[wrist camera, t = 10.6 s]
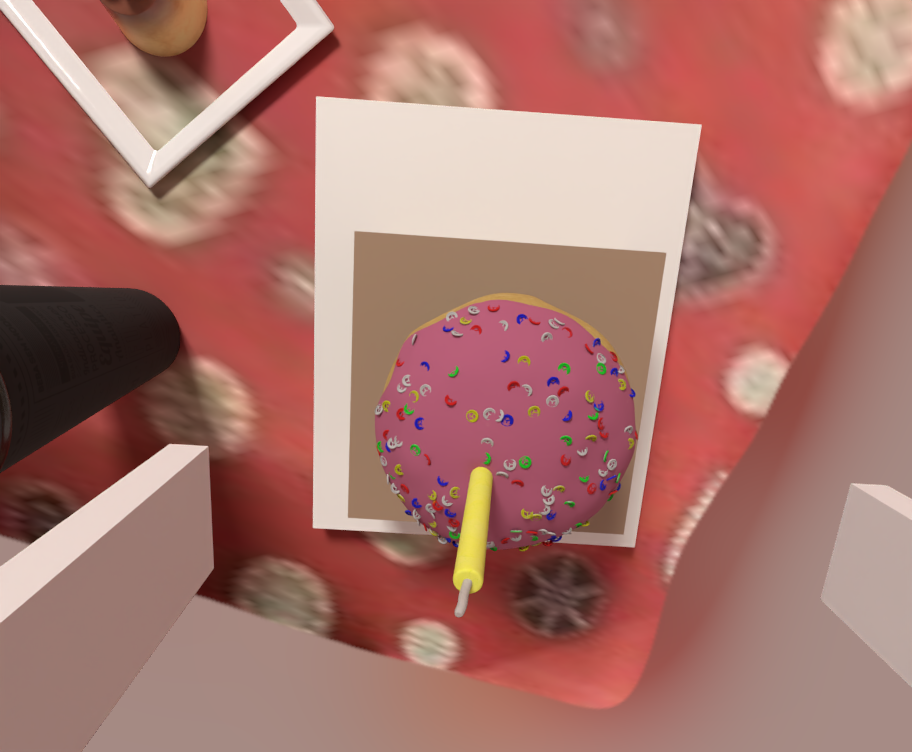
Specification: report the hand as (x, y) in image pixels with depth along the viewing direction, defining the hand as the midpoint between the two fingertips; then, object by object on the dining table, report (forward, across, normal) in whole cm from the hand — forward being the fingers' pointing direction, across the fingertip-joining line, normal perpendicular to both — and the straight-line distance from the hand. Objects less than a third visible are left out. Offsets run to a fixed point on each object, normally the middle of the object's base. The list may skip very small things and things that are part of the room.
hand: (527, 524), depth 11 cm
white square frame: (+20, -16, +16) cm, 30 cm away
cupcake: (+11, 0, 0) cm, 11 cm away
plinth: (+19, 0, +1) cm, 19 cm away
